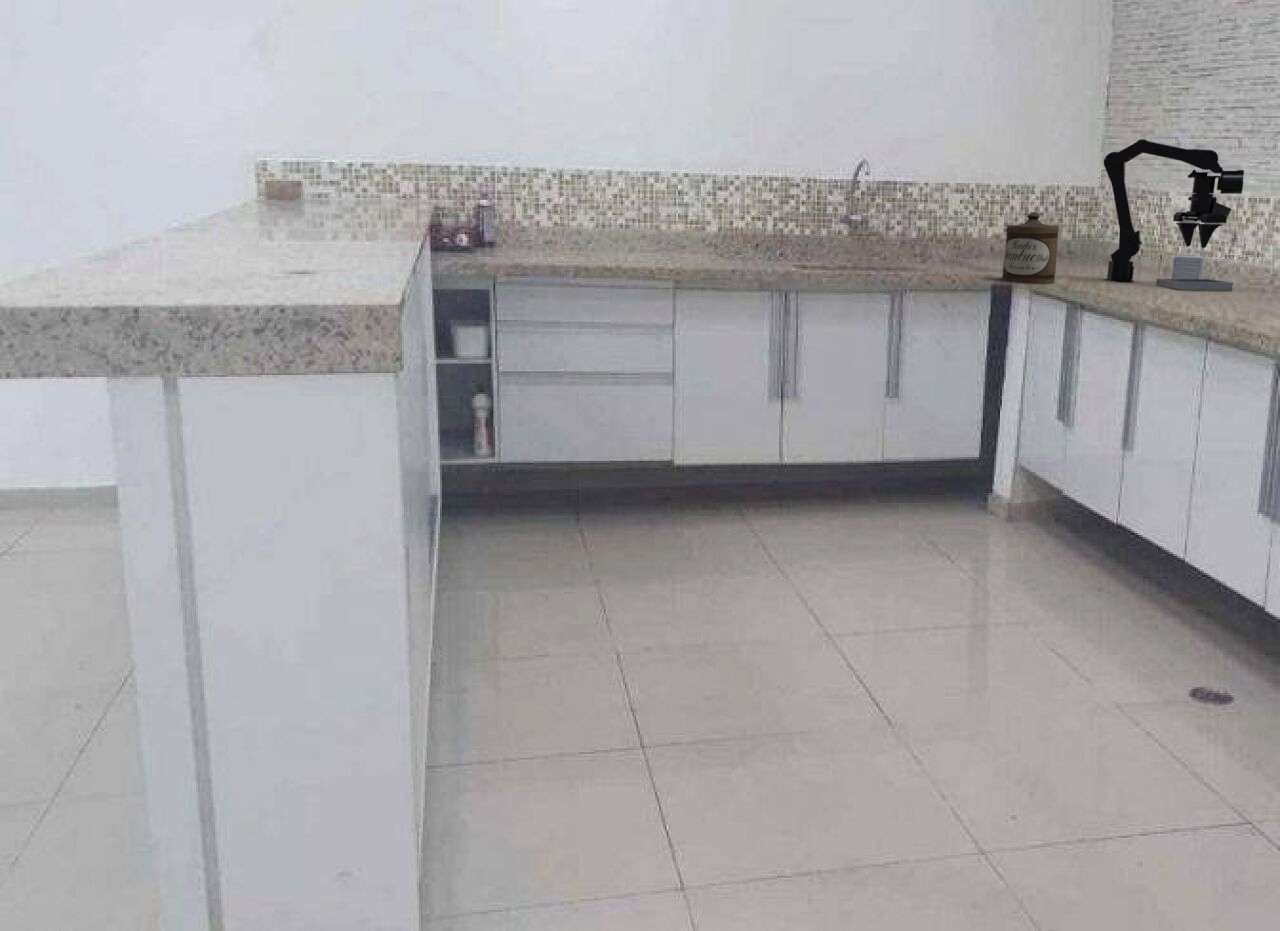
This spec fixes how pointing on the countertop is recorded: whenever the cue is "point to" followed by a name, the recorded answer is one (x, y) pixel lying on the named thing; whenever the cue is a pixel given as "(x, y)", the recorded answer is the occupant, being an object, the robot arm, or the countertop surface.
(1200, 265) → the medicine box
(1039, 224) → the wooden container
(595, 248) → the countertop surface
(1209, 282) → the tray
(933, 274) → the countertop surface
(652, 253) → the countertop surface
